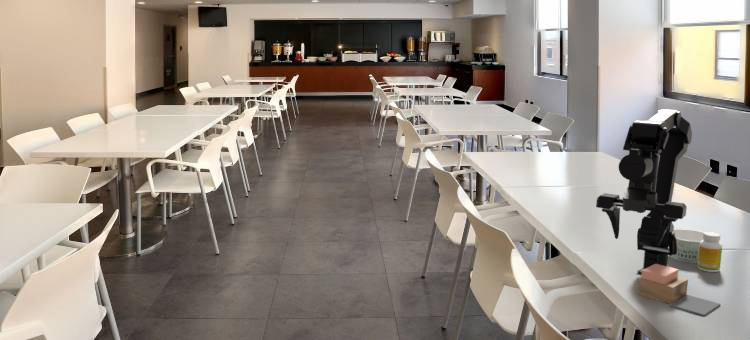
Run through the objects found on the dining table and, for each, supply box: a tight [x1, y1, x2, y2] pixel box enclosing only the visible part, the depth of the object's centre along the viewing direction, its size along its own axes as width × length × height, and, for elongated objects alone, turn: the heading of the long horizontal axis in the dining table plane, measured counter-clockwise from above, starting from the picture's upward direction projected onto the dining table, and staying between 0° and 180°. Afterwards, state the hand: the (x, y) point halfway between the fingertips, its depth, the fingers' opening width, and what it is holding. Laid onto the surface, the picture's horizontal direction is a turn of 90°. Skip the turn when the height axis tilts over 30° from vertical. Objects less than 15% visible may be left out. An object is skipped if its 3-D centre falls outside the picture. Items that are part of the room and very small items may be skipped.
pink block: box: [640, 264, 679, 284], centre depth 155 cm, size 7×6×2 cm
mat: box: [669, 294, 721, 317], centre depth 149 cm, size 9×8×1 cm
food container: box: [669, 228, 704, 264], centre depth 182 cm, size 12×12×6 cm
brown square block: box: [637, 276, 689, 305], centre depth 155 cm, size 8×8×4 cm
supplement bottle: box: [696, 231, 723, 273], centre depth 172 cm, size 5×5×10 cm
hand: (637, 241), depth 152 cm, fingers open, 9 cm apart
